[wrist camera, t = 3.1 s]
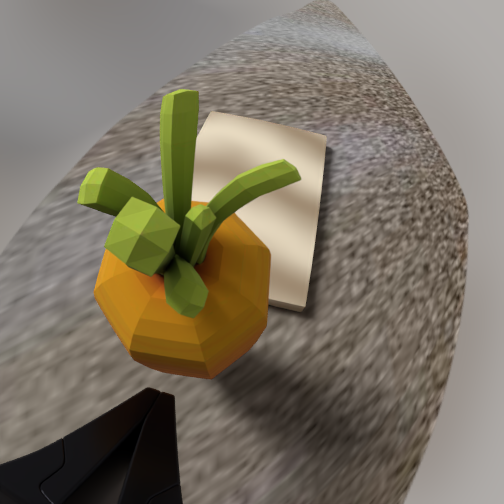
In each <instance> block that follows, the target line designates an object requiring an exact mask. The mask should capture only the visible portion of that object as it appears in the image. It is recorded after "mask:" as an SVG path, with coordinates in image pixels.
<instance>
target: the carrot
mask: <svg viewBox="0 0 504 504" xmlns="http://www.w3.org/2000/svg"><path fill="white" fill-rule="evenodd" d="M198 112H199V92H198V91H193V90H184V89H180V90H177V91H175V92H172V93H169V94H167V95H165V96H164V97H163V100H162V106H161V112H160V151H161V168H162V182H163V194H164V199H162V200H161V201H159V202H157V203H156V202H155V201H154V200H153V198H152V197H151V196H150V195H149V194H148V193H147V192H145V191H144V190H143V189H141V188H140V187H139V186H137V185H136V184H135V183H133V182H132V181H130V180H129V179H127V178H125V177H124V176H122V175H120V174H118V173H116V172H114V171H112V170H110V169H109V168H98V167H97V168H95V169H93V170H91V171H89V172H88V174H87V176H86V177H85V179H84V181H83V183H82V184H81V186H80V191H79V197H78V202H77V203H78V204H81V205H84V206H87V207H90V208H93V209H95V210H98V211H101V212H103V213H106V214H110V215H113V216H116V218H115V219H114V222H113V224H112V227H111V230H110V232H109V235H108V238H107V240H106V243H105V246H104V247H105V248H106V250H105V253H104V257H103V260H102V264H101V267H100V270H99V274H98V278H97V281H96V285H95V289H94V296H95V299H96V301H97V303H98V305H99V306H100V308H101V310H102V311H103V313H104V315H105V316H106V318H107V320H108V321H109V323H110V325H111V326H112V328H113V329H114V331H115V333H116V334H117V336H118V337H119V339H120V340H121V342H122V343H123V345H124V347H125V348H126V350H127V351H128V353H129V354H130V356H131V357H132V358H133V359H134V360H135V361H137V362H139V363H141V364H143V365H145V366H147V367H149V368H151V369H154V370H157V371H160V372H164V373H170V374H176V375H182V376H189V377H196V378H204V379H213V378H214V377H215V376H217V375H218V374H219V373H220V372H222V371H223V370H224V369H226V368H227V367H228V366H230V365H231V364H232V363H233V362H235V361H236V360H237V359H238V358H240V357H241V356H242V355H243V354H245V353H246V352H247V351H249V350H250V348H251V347H252V346H253V345H254V344H255V343H256V341H257V340H258V339H259V337H260V336H261V334H262V333H263V331H264V329H265V328H266V326H267V315H268V300H269V284H270V268H271V253H270V250H269V248H268V247H267V246H266V245H265V244H264V243H263V242H262V241H261V240H260V239H259V238H258V237H257V236H256V235H255V234H254V232H253V231H252V230H251V229H250V228H249V227H248V226H247V225H246V224H245V223H244V222H243V221H242V220H241V219H240V218H239V217H238V216H237V215H236V214H235V212H236V211H237V210H239V209H240V208H242V207H243V206H245V205H246V204H248V203H250V202H251V201H253V200H254V199H256V198H258V197H259V196H262V195H264V194H267V193H270V192H272V191H275V190H278V189H280V188H283V187H285V186H288V185H290V184H293V183H295V182H298V181H300V180H301V179H302V178H301V176H300V174H299V172H298V170H297V168H296V167H295V166H293V165H292V164H290V163H289V162H288V161H286V160H285V159H281V160H277V161H273V162H269V163H266V164H262V165H259V166H257V167H255V168H253V169H250V170H248V171H246V172H244V173H241V174H239V175H237V176H236V177H235V178H234V179H233V180H232V181H230V182H229V183H228V184H227V185H226V186H225V187H223V188H222V189H221V190H220V191H219V192H218V193H217V194H216V195H215V196H214V197H213V199H212V200H211V201H210V202H200V201H192V186H193V173H194V160H195V149H196V137H197V124H198Z"/></svg>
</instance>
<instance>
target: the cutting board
mask: <svg viewBox="0 0 504 504" xmlns="http://www.w3.org/2000/svg"><path fill="white" fill-rule="evenodd" d="M326 138H327V136H324V135H321V134H317V133H313V132H309V131H305V130H301V129H297V128H293V127H289V126H285V125H280V124H276V123H271V122H267V121H262V120H257V119H252V118H247V117H242V116H236V115H231V114H225V113H219V112H213V111H211V112H210V114H209V116H208V118H207V120H206V122H205V123H204V125H203V127H202V129H201V131H200V133H199V135H198V137H197V139H196V149H195V160H194V173H193V186H192V201H200V202H210V201H211V200H212V199H213V197H214V196H215V195H216V194H217V193H218V192H219V191H220V190H221V189H222V188H223V187H225V186H226V185H227V184H228V183H229V182H230V181H232V180H233V179H234V178H235V177H236V176H237V175H239V174H241V173H244V172H246V171H248V170H250V169H253V168H255V167H257V166H259V165H262V164H266V163H269V162H273V161H277V160H281V159H285V160H286V161H288V162H289V163H290V164H292V165H293V166H295V167H296V168H297V170H298V172H299V174H300V176H301V178H302V179H301V180H300V181H298V182H295V183H293V184H290V185H288V186H285V187H283V188H280V189H278V190H275V191H272V192H270V193H267V194H264V195H262V196H259V197H258V198H256V199H254V200H253V201H251V202H250V203H248V204H246V205H245V206H243V207H242V208H240V209H239V210H237V211H236V212H235V214H236V215H237V216H238V217H239V218H240V219H241V220H242V221H243V222H244V223H245V224H246V225H247V226H248V227H249V228H250V229H251V230H252V231H253V232H254V234H255V235H256V236H257V237H258V238H259V239H260V240H261V241H262V242H263V243H264V244H265V245H266V246H267V247H268V248H269V250H270V253H271V268H270V284H269V300H268V305H272V306H276V307H280V308H285V309H289V310H294V311H298V312H302V310H303V309H304V308H305V305H306V299H307V293H308V287H309V280H310V273H311V267H312V260H313V253H314V245H315V238H316V230H317V223H318V215H319V206H320V198H321V189H322V180H323V170H324V160H325V150H326Z"/></svg>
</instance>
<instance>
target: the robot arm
mask: <svg viewBox="0 0 504 504" xmlns="http://www.w3.org/2000/svg"><path fill="white" fill-rule="evenodd" d="M0 504H183V501H182V494H181V486H180V474H179V462H178V449H177V433H176V414H175V396H174V395H172V394H168V393H165V392H160V391H159V390H156V389H153V388H150V387H148V388H145V389H144V390H142V391H141V392H139V393H137V394H136V395H134V396H132V397H131V398H129V399H128V400H126V401H124V402H123V403H121V404H119V405H118V406H116V407H114V408H113V409H111V410H109V411H108V412H106V413H104V414H103V415H101V416H99V417H98V418H96V419H94V420H93V421H91V422H89V423H87V424H86V425H84V426H82V427H81V428H79V429H77V430H75V431H74V432H72V433H70V434H68V435H66V436H65V437H63V439H62V438H61V439H59V440H57V441H56V442H54V443H52V444H50V445H48V446H46V447H44V448H42V449H40V450H38V451H35V452H33V453H30V454H28V455H26V456H23V457H20V458H17V459H15V460H12V461H9V462H6V463H3V464H0Z"/></svg>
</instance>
